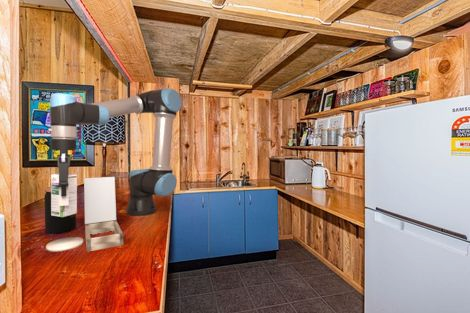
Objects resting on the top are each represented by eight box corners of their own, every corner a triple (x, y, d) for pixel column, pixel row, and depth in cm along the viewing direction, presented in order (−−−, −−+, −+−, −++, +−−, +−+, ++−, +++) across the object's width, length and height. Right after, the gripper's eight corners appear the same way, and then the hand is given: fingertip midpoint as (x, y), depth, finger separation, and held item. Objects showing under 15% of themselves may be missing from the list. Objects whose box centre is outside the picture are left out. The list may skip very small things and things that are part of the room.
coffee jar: (60, 235, 99) (59, 190, 98) (38, 233, 101) (37, 188, 100) (82, 227, 109) (81, 186, 108) (61, 225, 111) (60, 184, 110)
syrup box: (50, 215, 88) (49, 174, 87) (66, 211, 93) (66, 172, 92) (61, 217, 86) (61, 175, 85) (77, 213, 91) (77, 173, 91)
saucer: (82, 237, 98) (82, 235, 98) (83, 247, 88) (83, 245, 88) (47, 242, 92) (47, 240, 92) (44, 254, 82) (44, 251, 82)
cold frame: (116, 229, 106) (116, 220, 106) (123, 244, 91) (123, 234, 91) (85, 234, 100) (84, 224, 100) (86, 251, 85) (86, 240, 85)
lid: (116, 219, 106) (115, 219, 107) (114, 176, 109) (114, 177, 111) (84, 224, 100) (84, 224, 101) (84, 178, 103) (84, 178, 104)
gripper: (52, 138, 95) (53, 198, 96) (47, 137, 77) (48, 210, 78) (76, 139, 99) (76, 196, 100) (76, 138, 81) (77, 208, 83)
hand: (64, 202), depth 89 cm, fingers closed on syrup box, 8 cm apart
